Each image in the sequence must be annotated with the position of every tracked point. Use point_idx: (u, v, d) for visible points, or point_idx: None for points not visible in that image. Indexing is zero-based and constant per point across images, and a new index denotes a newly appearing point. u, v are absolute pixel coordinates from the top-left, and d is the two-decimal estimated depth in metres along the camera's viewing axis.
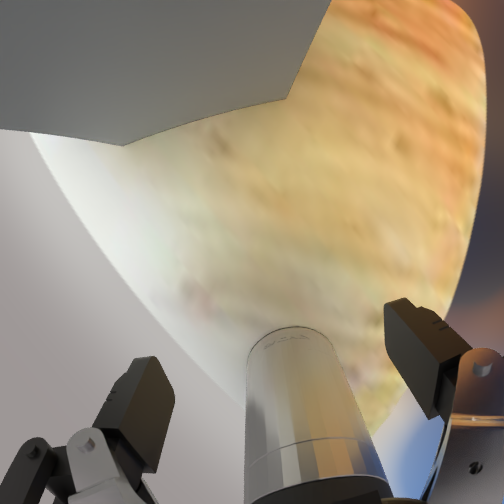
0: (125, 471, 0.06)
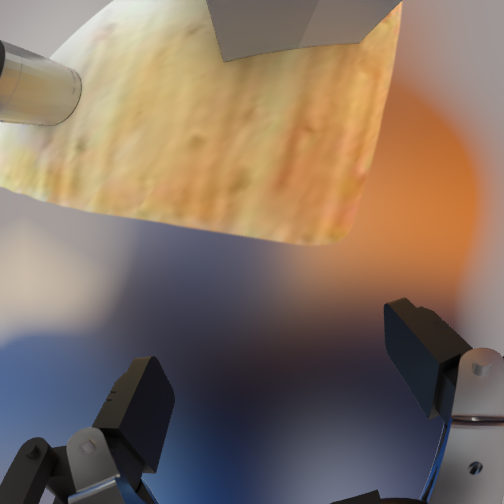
0: (125, 471, 0.06)
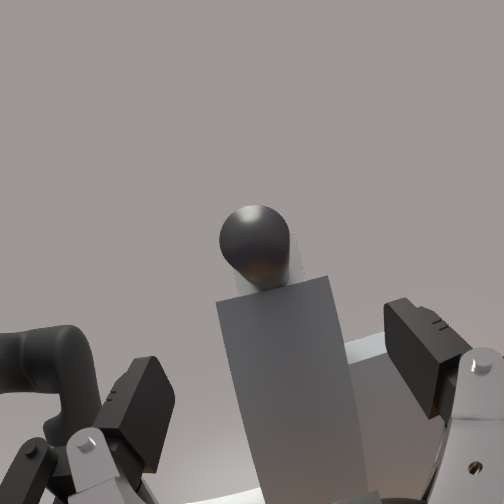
0: (125, 471, 0.06)
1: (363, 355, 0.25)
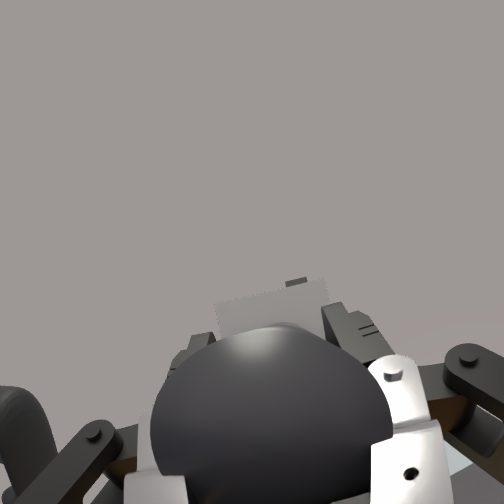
0: None
1: None
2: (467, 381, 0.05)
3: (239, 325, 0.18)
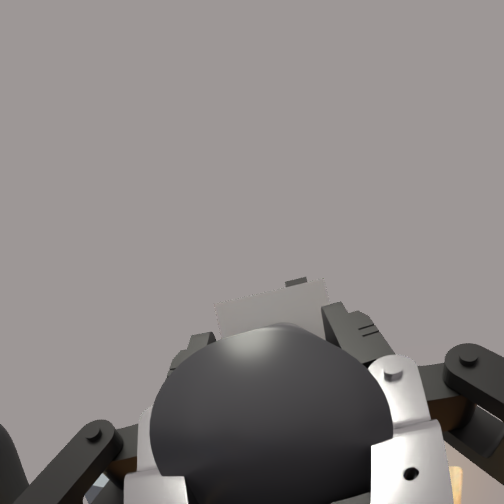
0: None
1: None
2: (467, 381, 0.05)
3: (239, 325, 0.18)
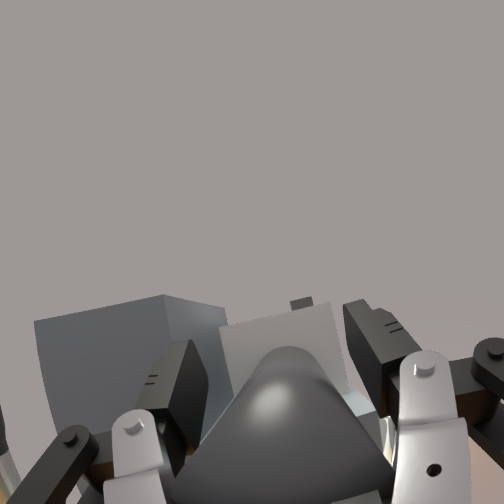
0: (172, 452, 0.06)
1: None
2: (496, 374, 0.04)
3: (244, 349, 0.18)
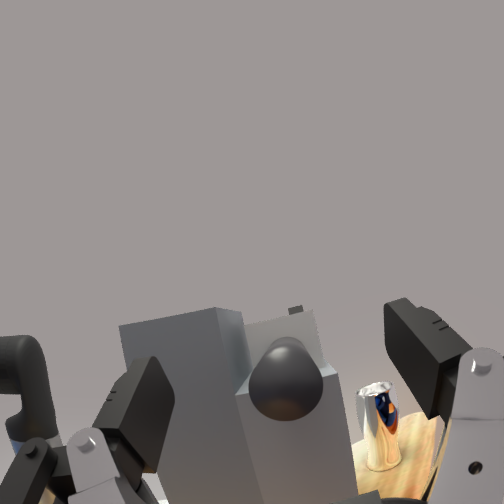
0: (125, 471, 0.06)
1: None
2: None
3: (259, 338, 0.29)
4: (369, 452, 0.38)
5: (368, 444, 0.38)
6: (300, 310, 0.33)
